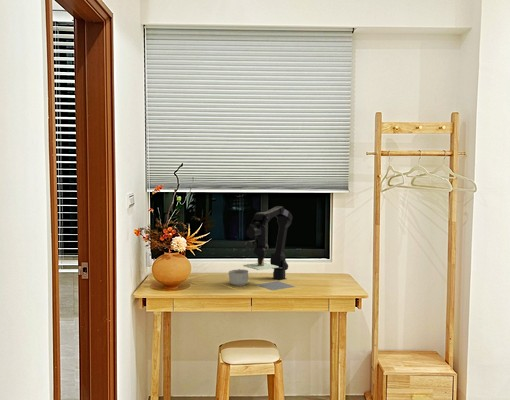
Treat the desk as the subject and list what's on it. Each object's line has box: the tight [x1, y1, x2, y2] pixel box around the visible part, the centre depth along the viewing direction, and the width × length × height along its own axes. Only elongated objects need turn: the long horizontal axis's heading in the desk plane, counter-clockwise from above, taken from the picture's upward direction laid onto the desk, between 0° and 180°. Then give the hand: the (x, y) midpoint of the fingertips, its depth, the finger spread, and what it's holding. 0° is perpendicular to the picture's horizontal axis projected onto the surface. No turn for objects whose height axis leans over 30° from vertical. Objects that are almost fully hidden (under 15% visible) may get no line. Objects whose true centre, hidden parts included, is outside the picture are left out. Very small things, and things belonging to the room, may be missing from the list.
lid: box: [242, 258, 279, 271], centre depth 318 cm, size 14×14×5 cm
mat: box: [255, 280, 297, 291], centre depth 318 cm, size 16×16×1 cm
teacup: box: [228, 268, 249, 287], centre depth 322 cm, size 14×11×8 cm
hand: (260, 264), depth 319 cm, fingers closed on lid, 3 cm apart
